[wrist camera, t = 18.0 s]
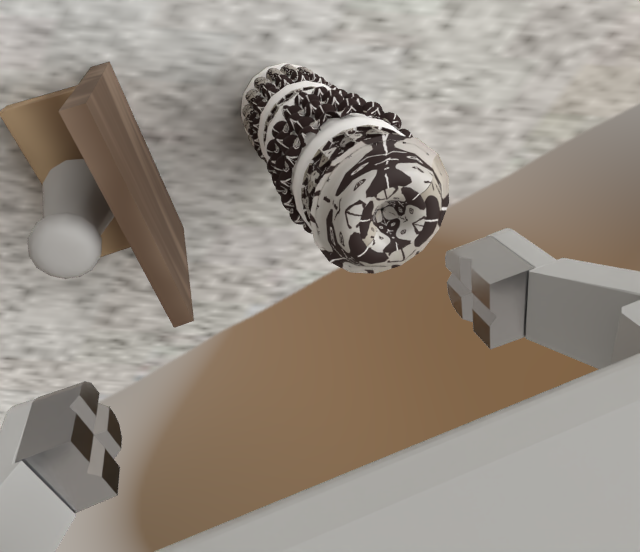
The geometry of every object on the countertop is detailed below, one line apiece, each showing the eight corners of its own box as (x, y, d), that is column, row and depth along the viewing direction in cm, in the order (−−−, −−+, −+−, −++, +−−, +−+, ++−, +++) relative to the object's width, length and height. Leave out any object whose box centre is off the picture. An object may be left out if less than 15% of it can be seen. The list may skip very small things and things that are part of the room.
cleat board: (96, 257, 47) (73, 363, 34) (-1, 93, 38) (-84, 153, 25) (183, 227, 48) (193, 320, 35) (109, 61, 39) (86, 103, 26)
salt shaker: (103, 226, 43) (86, 306, 32) (36, 194, 40) (-7, 272, 29) (135, 173, 41) (128, 240, 31) (68, 137, 38) (34, 197, 28)
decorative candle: (283, 33, 41) (407, 85, 21) (349, 108, 46) (501, 208, 26) (215, 112, 43) (268, 231, 23) (286, 176, 48) (381, 320, 28)
